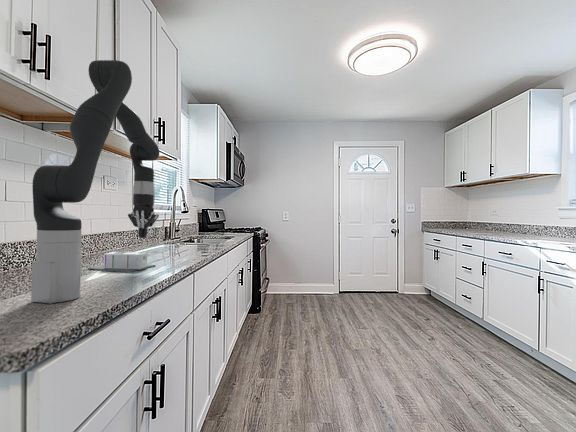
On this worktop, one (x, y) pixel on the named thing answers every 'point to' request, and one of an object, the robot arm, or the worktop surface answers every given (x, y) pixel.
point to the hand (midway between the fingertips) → (142, 237)
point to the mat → (118, 269)
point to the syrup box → (125, 260)
